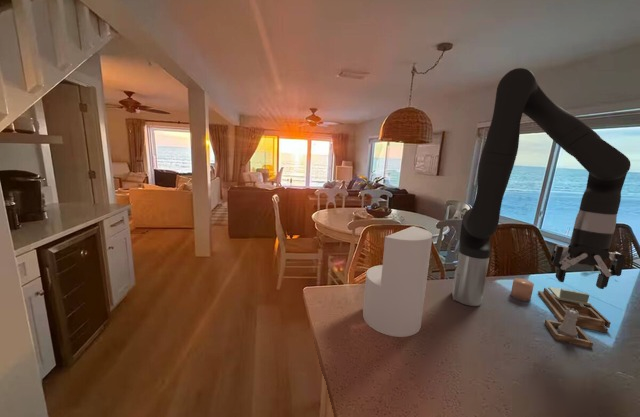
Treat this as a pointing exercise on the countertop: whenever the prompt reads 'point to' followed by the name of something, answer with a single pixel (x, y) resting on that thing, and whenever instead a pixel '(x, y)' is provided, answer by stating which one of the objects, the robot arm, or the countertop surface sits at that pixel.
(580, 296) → the cover
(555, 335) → the wooden square frame
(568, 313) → the rook chess piece
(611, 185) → the robot arm
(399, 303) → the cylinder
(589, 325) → the shallow wooden box
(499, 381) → the countertop surface
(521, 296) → the tan rounded block
